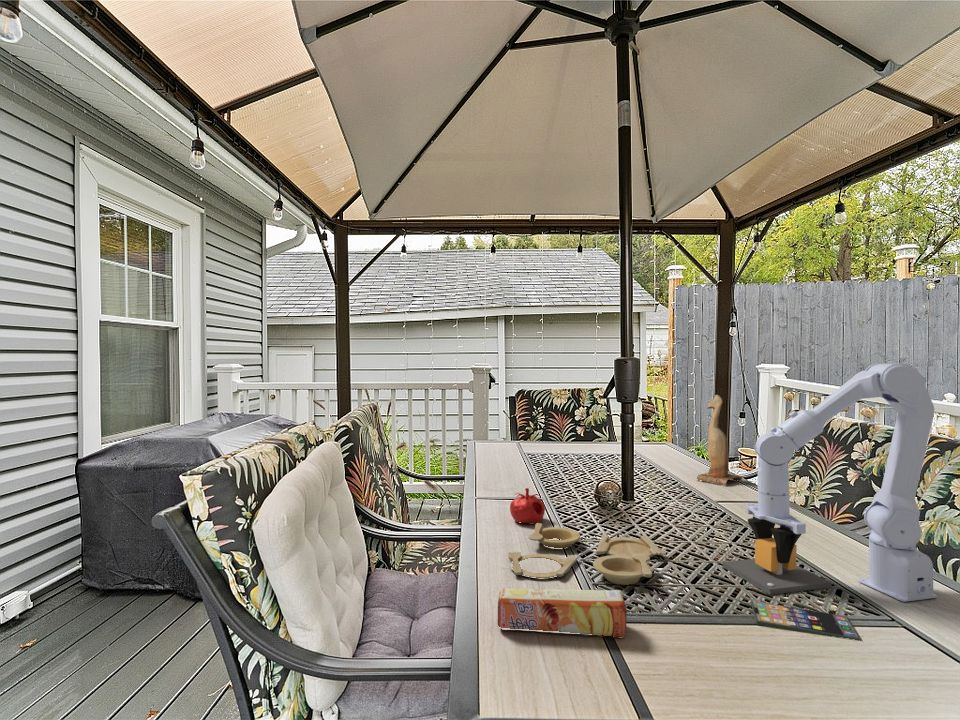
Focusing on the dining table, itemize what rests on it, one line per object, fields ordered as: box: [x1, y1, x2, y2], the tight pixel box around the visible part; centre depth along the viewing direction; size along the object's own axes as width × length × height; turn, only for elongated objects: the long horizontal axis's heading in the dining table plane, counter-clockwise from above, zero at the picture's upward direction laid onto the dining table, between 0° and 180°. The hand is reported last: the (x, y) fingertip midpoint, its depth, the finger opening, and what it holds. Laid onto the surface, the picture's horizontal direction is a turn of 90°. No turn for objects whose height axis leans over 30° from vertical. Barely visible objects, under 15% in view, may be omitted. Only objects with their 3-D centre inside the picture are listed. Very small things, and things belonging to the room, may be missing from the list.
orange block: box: [754, 537, 798, 572], centre depth 110 cm, size 6×4×5 cm
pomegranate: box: [509, 487, 546, 523], centre depth 149 cm, size 10×10×9 cm
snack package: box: [497, 587, 627, 638], centre depth 90 cm, size 21×7×7 cm, turn 82°
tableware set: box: [507, 522, 667, 586], centre depth 120 cm, size 35×29×4 cm
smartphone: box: [750, 600, 863, 642], centre depth 91 cm, size 8×15×1 cm, turn 69°
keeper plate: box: [722, 558, 833, 595], centre depth 109 cm, size 14×14×4 cm
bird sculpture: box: [696, 394, 743, 487], centre depth 193 cm, size 11×12×32 cm
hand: (774, 557), depth 109 cm, fingers closed on orange block, 4 cm apart
